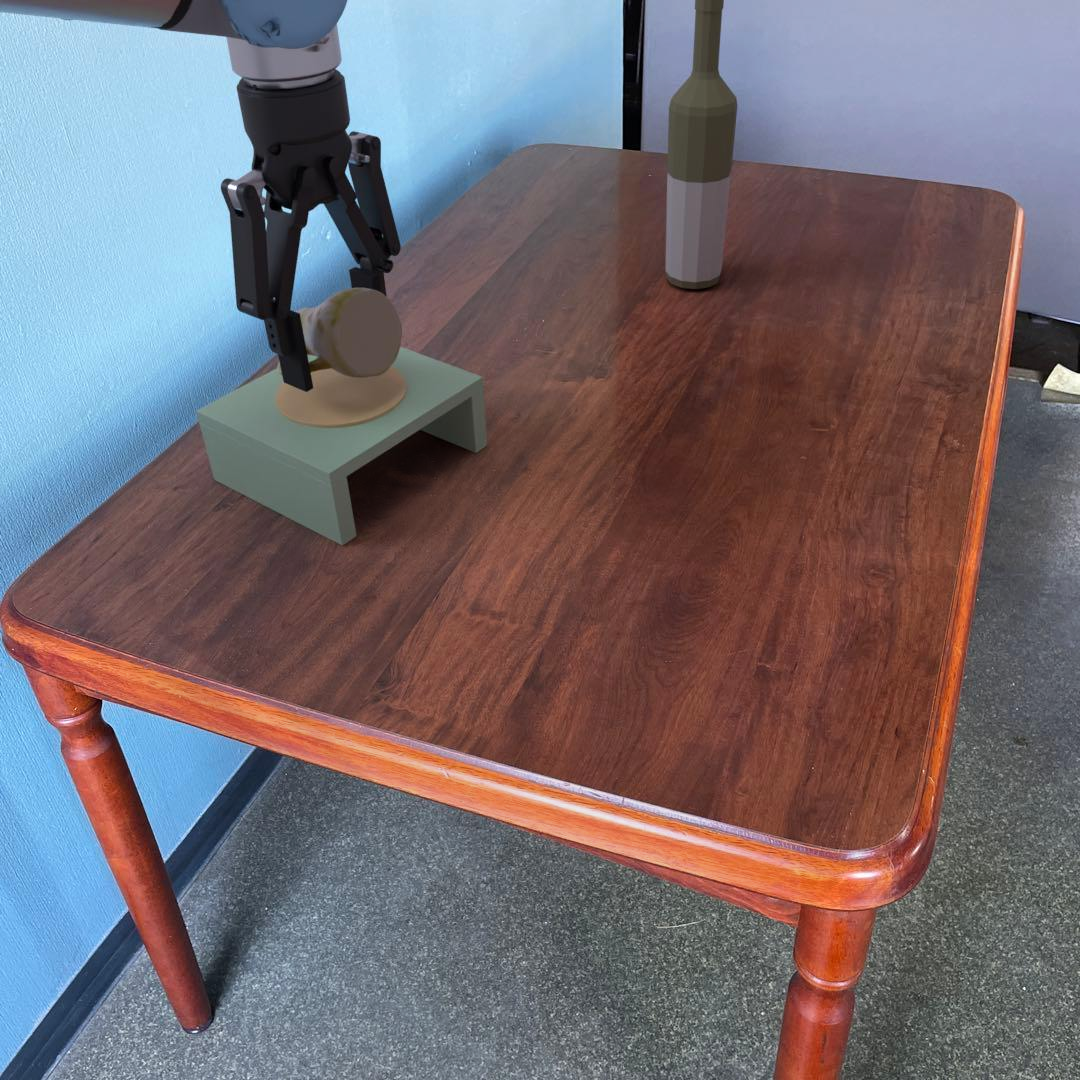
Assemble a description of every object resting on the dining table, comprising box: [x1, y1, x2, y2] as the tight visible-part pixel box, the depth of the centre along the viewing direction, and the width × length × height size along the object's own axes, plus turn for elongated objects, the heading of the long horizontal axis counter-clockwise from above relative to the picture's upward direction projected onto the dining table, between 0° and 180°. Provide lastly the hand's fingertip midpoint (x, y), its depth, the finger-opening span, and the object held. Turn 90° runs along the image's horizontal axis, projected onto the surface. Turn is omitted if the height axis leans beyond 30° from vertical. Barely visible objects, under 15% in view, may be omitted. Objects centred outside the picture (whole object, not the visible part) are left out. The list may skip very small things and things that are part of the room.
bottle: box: [664, 0, 738, 290], centre depth 113 cm, size 7×7×30 cm
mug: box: [276, 287, 403, 378], centre depth 87 cm, size 8×10×10 cm
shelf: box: [195, 346, 488, 546], centre depth 93 cm, size 16×18×7 cm
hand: (337, 363), depth 89 cm, fingers closed on mug, 8 cm apart
